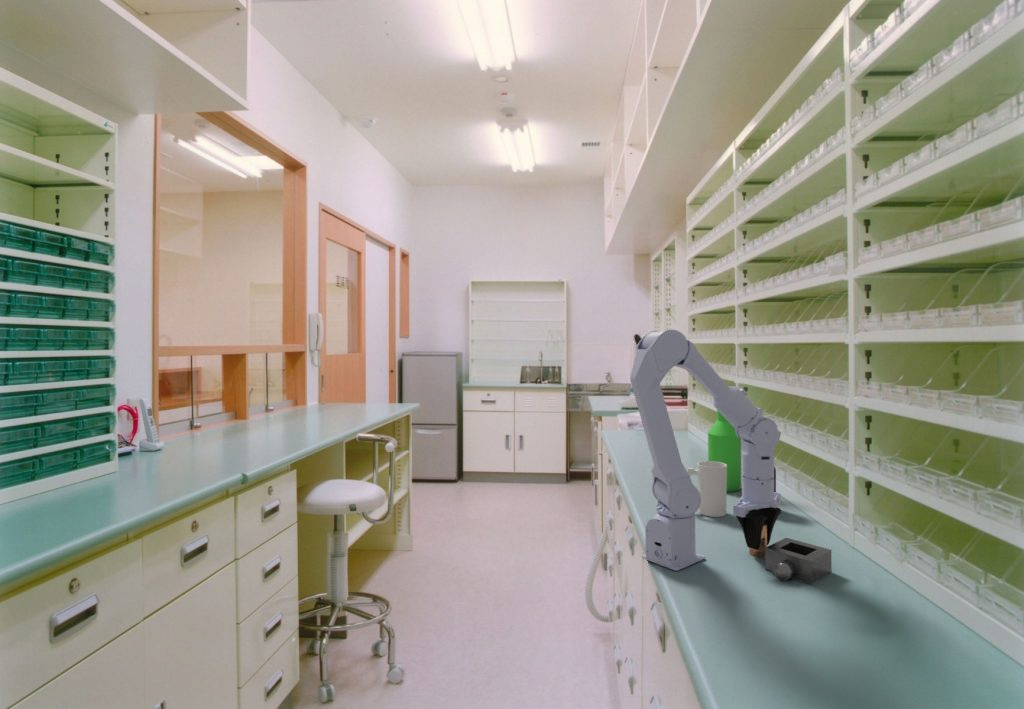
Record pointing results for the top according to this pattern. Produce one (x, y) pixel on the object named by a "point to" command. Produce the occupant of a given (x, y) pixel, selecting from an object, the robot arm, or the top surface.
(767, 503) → the robot arm
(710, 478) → the mug
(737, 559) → the top surface
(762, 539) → the tapered valve plug
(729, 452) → the bottle
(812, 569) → the valve body
